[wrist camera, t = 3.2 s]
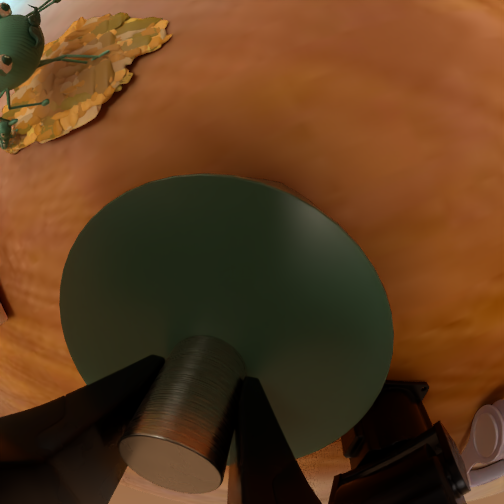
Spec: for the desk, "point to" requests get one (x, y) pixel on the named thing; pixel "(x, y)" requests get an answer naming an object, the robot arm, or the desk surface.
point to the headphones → (486, 444)
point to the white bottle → (2, 315)
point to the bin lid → (225, 318)
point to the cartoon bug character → (65, 71)
